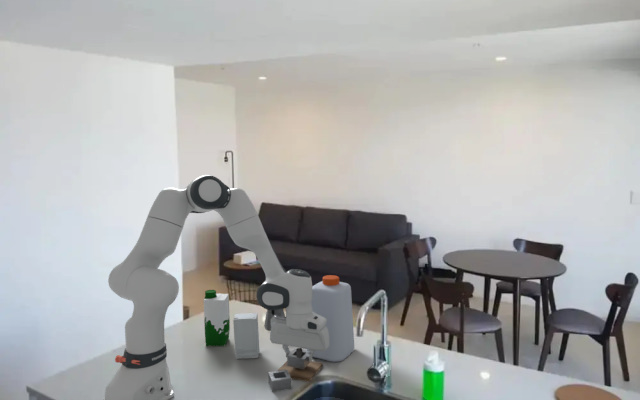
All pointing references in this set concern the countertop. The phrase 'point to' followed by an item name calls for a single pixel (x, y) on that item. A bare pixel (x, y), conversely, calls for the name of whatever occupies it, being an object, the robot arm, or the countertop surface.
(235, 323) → the skincare box
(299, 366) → the grey hollow square block
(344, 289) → the plastic bottle
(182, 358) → the countertop surface
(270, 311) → the coffeepot
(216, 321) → the milk carton
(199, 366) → the countertop surface
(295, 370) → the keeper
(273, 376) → the link
